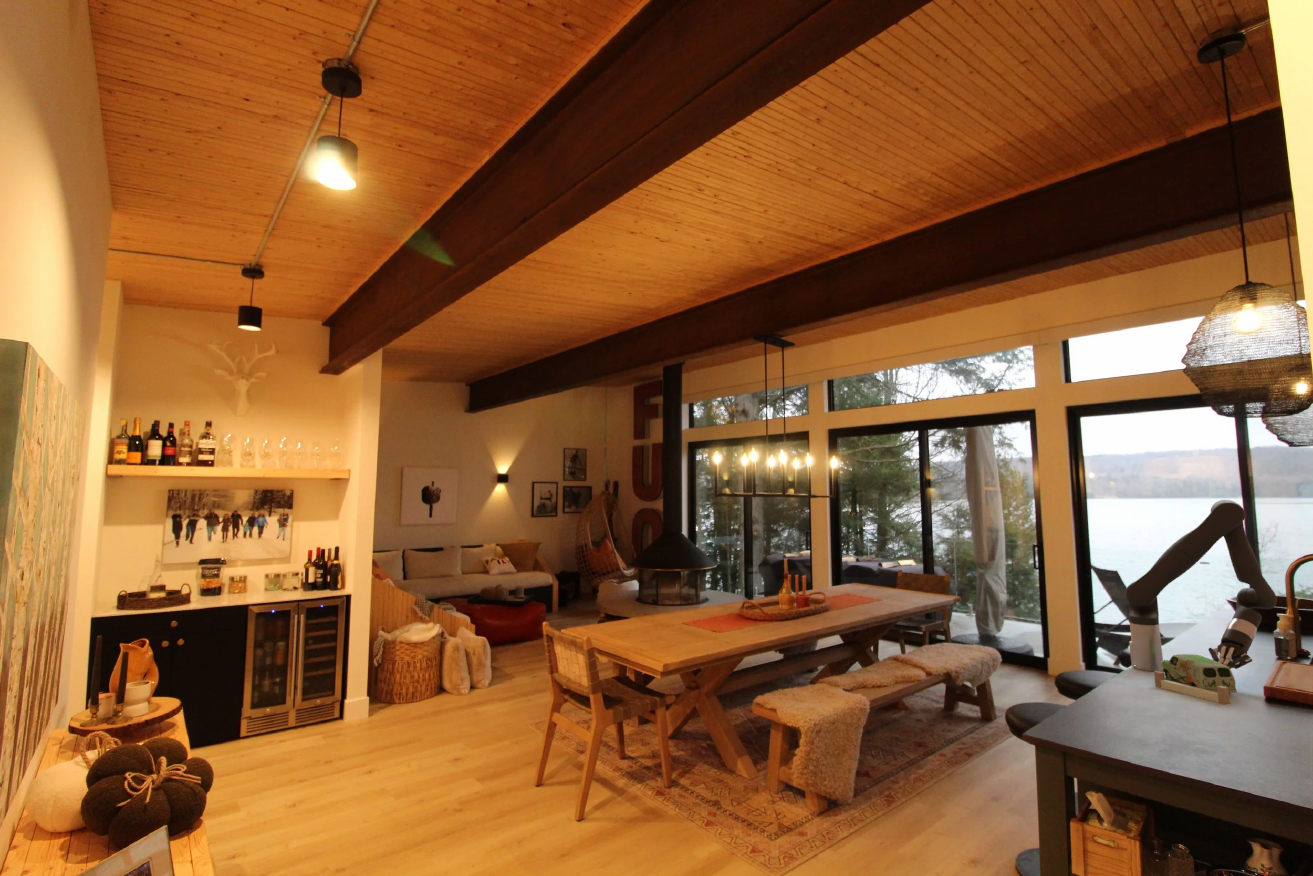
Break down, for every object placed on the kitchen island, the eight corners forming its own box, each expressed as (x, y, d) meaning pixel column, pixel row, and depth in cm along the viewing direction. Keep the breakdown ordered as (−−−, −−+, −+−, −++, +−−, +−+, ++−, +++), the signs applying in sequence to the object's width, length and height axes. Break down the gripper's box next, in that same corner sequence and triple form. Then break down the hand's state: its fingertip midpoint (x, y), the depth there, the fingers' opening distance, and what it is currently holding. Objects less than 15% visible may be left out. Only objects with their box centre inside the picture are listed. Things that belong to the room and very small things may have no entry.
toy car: (1194, 676, 236) (1190, 649, 237) (1239, 697, 212) (1235, 666, 213) (1161, 676, 238) (1158, 649, 239) (1202, 697, 214) (1199, 666, 215)
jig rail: (1155, 686, 227) (1154, 671, 228) (1159, 685, 228) (1158, 671, 228) (1225, 704, 206) (1223, 688, 207) (1230, 703, 207) (1228, 687, 207)
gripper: (1212, 625, 233) (1192, 664, 228) (1254, 631, 220) (1235, 673, 216) (1224, 638, 234) (1205, 677, 229) (1267, 645, 221) (1248, 687, 217)
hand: (1220, 675), depth 222 cm, fingers closed
